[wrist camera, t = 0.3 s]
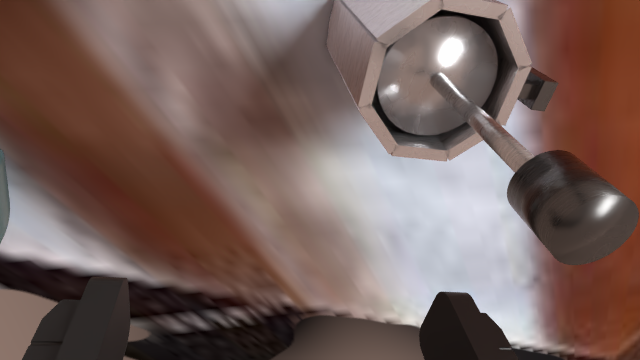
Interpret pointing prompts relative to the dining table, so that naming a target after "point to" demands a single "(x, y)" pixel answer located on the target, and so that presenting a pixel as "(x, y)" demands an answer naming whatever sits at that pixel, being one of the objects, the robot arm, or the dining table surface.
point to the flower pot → (3, 197)
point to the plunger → (500, 138)
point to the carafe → (396, 21)
